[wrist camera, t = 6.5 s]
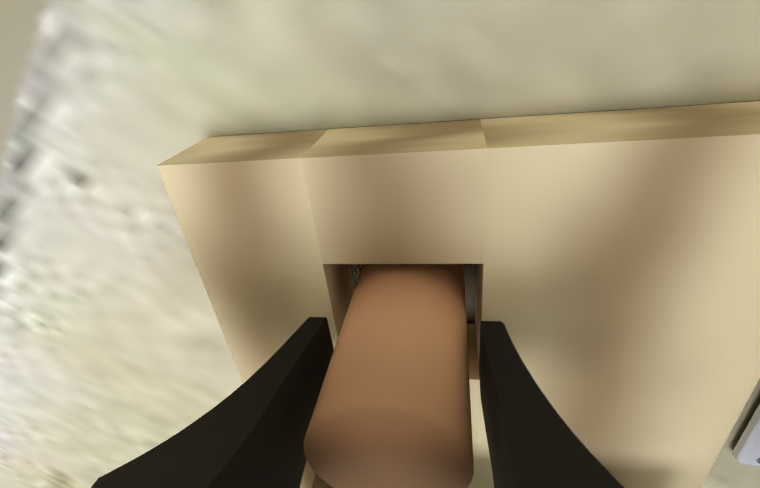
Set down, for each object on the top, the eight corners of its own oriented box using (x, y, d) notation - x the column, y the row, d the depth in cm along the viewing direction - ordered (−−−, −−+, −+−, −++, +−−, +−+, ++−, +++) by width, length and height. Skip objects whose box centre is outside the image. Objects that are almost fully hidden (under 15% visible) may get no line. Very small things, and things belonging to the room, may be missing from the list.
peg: (467, 227, 15) (481, 417, 8) (460, 311, 17) (467, 518, 10) (361, 224, 15) (291, 397, 9) (367, 305, 17) (314, 497, 11)
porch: (793, 99, 11) (1185, 207, 5) (644, 471, 20) (726, 666, 14) (208, 137, 14) (39, 230, 8) (305, 442, 23) (256, 591, 17)
